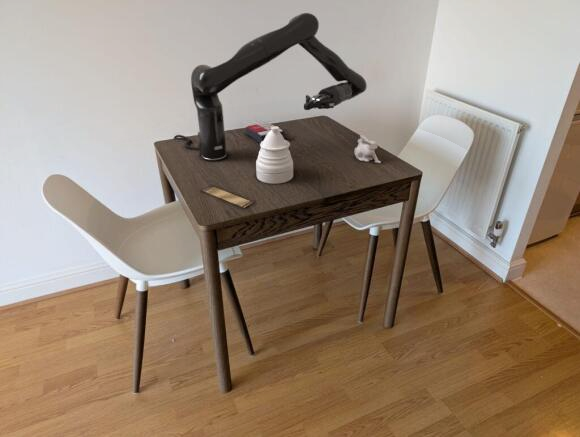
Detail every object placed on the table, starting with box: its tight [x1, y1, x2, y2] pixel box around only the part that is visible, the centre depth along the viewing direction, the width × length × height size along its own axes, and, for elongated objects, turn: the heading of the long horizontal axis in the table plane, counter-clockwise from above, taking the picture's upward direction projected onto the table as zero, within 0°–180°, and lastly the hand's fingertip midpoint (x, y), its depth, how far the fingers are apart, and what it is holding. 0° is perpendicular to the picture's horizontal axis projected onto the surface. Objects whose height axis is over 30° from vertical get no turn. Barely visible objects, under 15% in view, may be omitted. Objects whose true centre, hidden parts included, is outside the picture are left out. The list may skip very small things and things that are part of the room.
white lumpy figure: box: [354, 134, 382, 164], centre depth 158 cm, size 12×8×10 cm, turn 32°
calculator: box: [245, 121, 286, 144], centre depth 180 cm, size 11×4×15 cm
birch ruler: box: [203, 185, 254, 209], centre depth 135 cm, size 18×4×1 cm, turn 53°
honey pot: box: [255, 125, 294, 185], centre depth 144 cm, size 13×13×18 cm
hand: (305, 107), depth 151 cm, fingers closed
